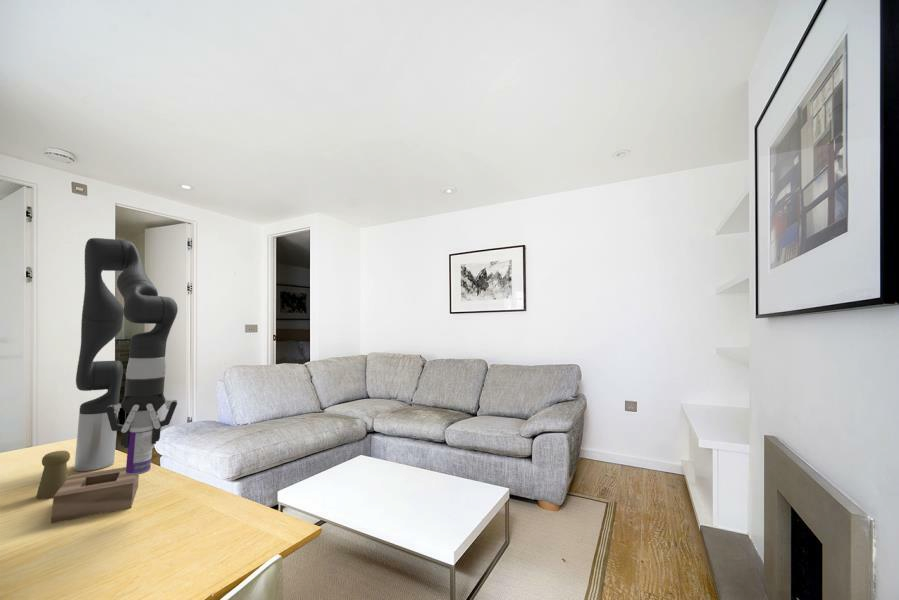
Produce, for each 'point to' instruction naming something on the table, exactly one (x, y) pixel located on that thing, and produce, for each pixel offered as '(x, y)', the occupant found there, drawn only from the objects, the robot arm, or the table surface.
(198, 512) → the table surface
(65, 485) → the well block
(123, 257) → the robot arm
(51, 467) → the cork
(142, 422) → the container
